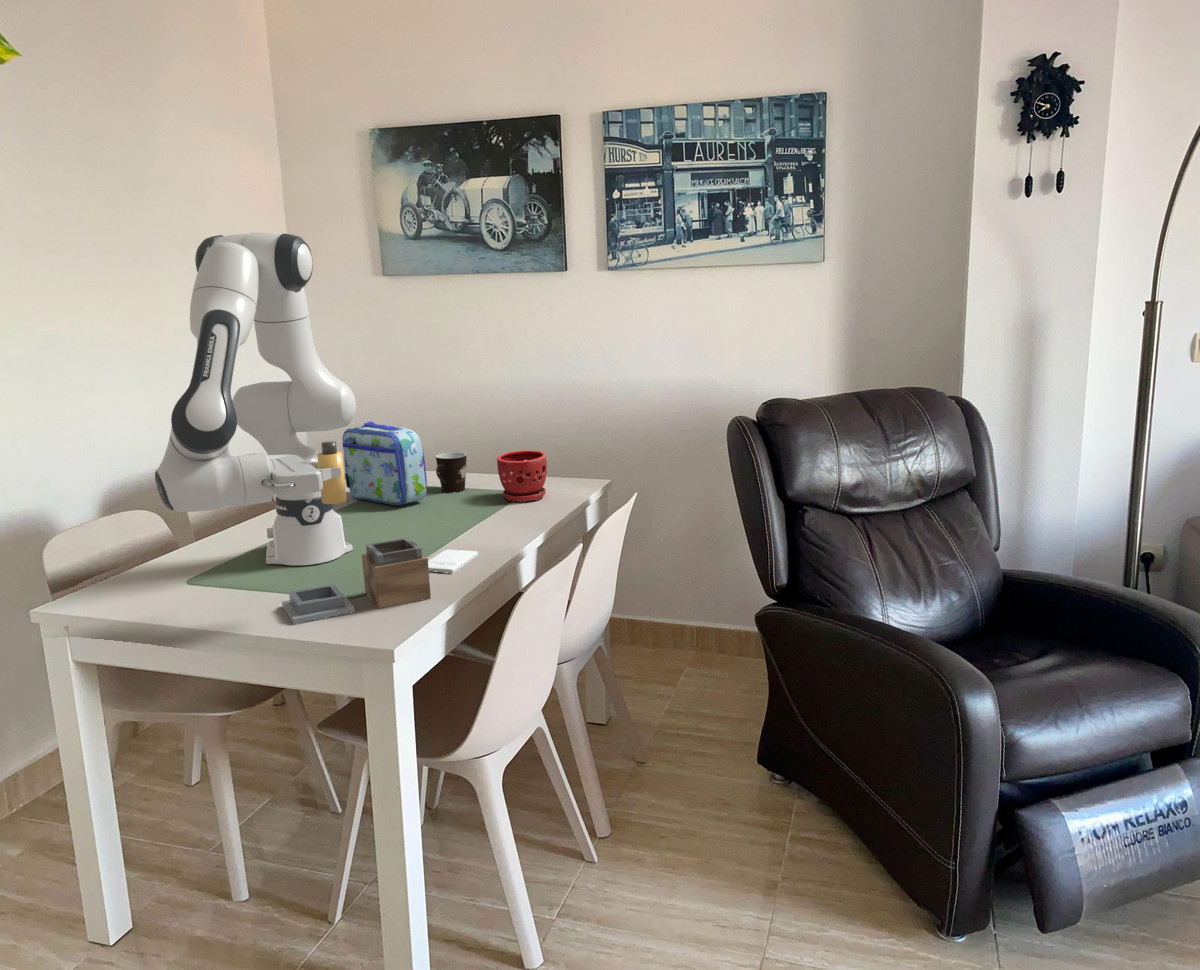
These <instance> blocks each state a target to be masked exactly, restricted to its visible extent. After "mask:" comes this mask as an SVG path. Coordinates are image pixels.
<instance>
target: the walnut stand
mask: <svg viewBox="0 0 1200 970" xmlns="http://www.w3.org/2000/svg"><path fill="white" fill-rule="evenodd" d="M365 549H366V553H362V554H361V560H362V561H361V562H362V572H363V583H364V593H365V592H366V593H367V595H368V596H369V597H370V598H371V599H372V600H373V601H374V602H375V603H374V602H373V601H372V600H371V599H370V598H369V597H368V596H367V595H366V596H367V597H368V598H369V599H370V600H371V601H372V602H373V603H374V604H375V606H376V607H377V608H378V607H379V608H380V609H383V608H382V607H385V608H389V607H388V606H390V607H394V606H393V605H395V606H399V604H400V605H404V604H403V603H405V604H410V603H414V602H413V601H415V602H419V601H418V600H420V601H423V600H422V599H425V600H428V599H427V598H430V599H432V598H431V596H432V595H431V585H430V583H431V582H430V572H429V569H428V561H429V560H428V559H429V558H428V557H426V556H425V555H424V554H423V549H422V547H421V546H419V545H418V544H417V543H416V542H414V541H413V540H412V539H411V538H409V537H405V538H398V539H393V540H386V541H380V542H375V543H369V544H365ZM409 602H410V603H409ZM379 608H378V609H379Z"/></svg>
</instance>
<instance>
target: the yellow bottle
mask: <svg viewBox="0 0 1200 970" xmlns="http://www.w3.org/2000/svg"><path fill="white" fill-rule="evenodd" d="M317 457H318V467H319V469H326V468H329V467H335V466H337V467H339V468H340V469H341V476H340V477H337V478H331V479H328V480H326V481H322V482H323V490H321V498H322V503H324V504H333V505H336V504H342V503H345V502H347V491H346V478H345V466H344V459H343V458H344V455H343V452H342V451H339V450H338V449H337V441H334V440H333V441H332V440H331V441H324V442H321V452H320V453H318V454H317Z"/></svg>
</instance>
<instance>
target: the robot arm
mask: <svg viewBox="0 0 1200 970" xmlns="http://www.w3.org/2000/svg"><path fill="white" fill-rule="evenodd" d="M194 257H195V260H194V261H195V268H196V269H195V270H196V273H197V274H196V276H195V280H194V285H193V289H192V292H191V299H190V307H189V327H190V329H189V330H190V331H191V333H192V335H193V336H194V337H195V338H196V343H197V344H196V352H195V357H194V364H193V367H192V368H193V369H192V372H191V373H192V375H191V379H190V381H189V382H190V383H189V386H188V387H187V389H186V390H185V391H184V392H183V394H182V395H181V397H180V398H179V399H178V401H176V403H175V405H174V407H173V409H172V413H171V419H170V420H171V421H170V422H171V428H170V434H169V439H168V443H167V446H166V450H165V452H164V455H163V457H162V460H161V463H159V466H158V468H157V469H156V470H155V472H154V481H155V484H156V489H157V491H158V494H159V496H160V499H161V501H162V502H163V504H164V505H165V507H167V509H169V510H171V511H172V512H177V513H178V512H179V513H194V512H195V513H196V512H206V511H213V510H220V509H221V508H224V507H227V506H240V507H243V506H251V505H257V504H264V503H265V504H266V503H271V502H272V500H273V495H276V497H275V511H276V517H275V519H274V522H273V525H272V527H268V528H266V535H267V539H273V540H272V541H271V540H270V541H268V542H267V544H266V554H265V564H267V565H283V566H284V565H286V566H310V565H311V566H312V565H316V564H323V563H327V562H330V561H331V562H332V561H333V560H336V559H339V558H340V557H342V556H343V555H345V553H348V552H351V551H353V550H354V549H353V548H354V547H353V545H352V544H351V543H349V542H346V541H345V539H346V538H345V534H344V526H343V521H342V516H341V514H339V513H338V512H336V511H335V510H334V509H333V508H334V504H324V503H322V498H321V490H323V482H322V481H326V480H328V479H331V478H337V477H340V476H341V469H340V468H339V467H337V466H335V467H329V468H326V469H319V467H318V457H317V454H318V453H321V452H319V450H317V449H315V448H312V447H310V446H308V445H305V444H304V443H302V441H301V440H300V439H299V438H298V436H297V433H306V432H307V433H308V432H309V433H310V432H313V433H314V432H328V431H332V430H338V429H342V428H344V427H347V426H349V425H350V424H351V422H352V421H353V419H354V417H355V415H356V411H357V399H356V396H355V394H354V392H353V390H352V389H351V388H350V386H349V385H348V384H347V383H346V382H344V381H343V380H341V379H339V378H338V377H336V376H335V375H334V374H332V373H331V372H330V370H328V367H326V366H325V364H324V363H323V361H322V360H321V358H320V357H319V355H318V352H317V348H316V345H315V341H314V337H313V331H312V325H311V317H310V310H309V305H308V300H307V296H306V295H307V294H306V291H305V288H304V287H306V285H307V284H308V283H309V281H310V279H311V278H312V276H313V275H312V274H313V268H314V262H313V261H314V260H313V255H312V251H311V248H310V246H309V245H308V243H307V242H306V241H305V240H304V239H303V237H300V236H297V235H294V234H289V233H282V234H278V233H271V232H270V233H268V232H267V233H266V232H249V233H240V234H239V233H238V234H237V233H236V234H231V235H223V234H218V235H212V236H209V237H207V238H205V239H203V240H202V241H201V242H200V244H199V246H197V249H196V252H195V256H194ZM253 325H254V331H255V337H256V343H257V350H258V353H259V354H260V356H261V357H262V359H263V360H264V361H265V362H266V363H268V364H269V365H271V366H274V367H276V368H279V369H281V370H282V371H283V372H285V373H286V374H287V375H288V376H289V378H290V380H289V381H287V380H285V381H284V380H283V381H261V382H258V383H257V382H256V383H252V384H248V385H245V386H244V385H243V386H241V387H239V388H238V389H237V391H236V392H235V394H234V395H233V398H232V394H231V393H232V392H231V391H232V381H233V376H234V368H235V362H236V358H237V357H236V355H237V353H238V349H239V348H240V347H241V346H242V345H244V344H245V343H246V342H247V339H248V337H249V335H250V333H251V330H252V328H253ZM237 426H238V427H239V428H240V429H241V430H242V431H244V432H245V433H247V434H249V435H250V436H251V437H252V438H254V439H255V440H256V441H257V442H258V443H259V444H260V445H261V447H262V448H263V450H264V451H265V452H266V453H264V452H261V453H260V452H259V453H255V452H254V453H248V454H241V455H232V454H230V451H229V444H230V442H231V440H232V438H233V437H234V436H235V433H236V431H237ZM266 454H267V455H266Z"/></svg>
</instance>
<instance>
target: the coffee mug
mask: <svg viewBox="0 0 1200 970" xmlns="http://www.w3.org/2000/svg"><path fill="white" fill-rule="evenodd" d="M467 456H468V454H467V453H466V452H460V451H459V452H458V451H457V452H456V451H455V452H454V451H452V452H443V453H438V454H436V455H435V461H436V466H437V467H436V469H435V471H436V472H435V473H436V476H437V478H438V480H439V481H440V487H441V491H443V492H442V493H445V494H446V493H447V494H448V493H449V494H451V493H452V494H454V493H453V492H456V493H461V492H464V491H465V490H466V477H467V476H466V474H467V473H466V472H467ZM463 490H464V491H463ZM460 491H461V492H460Z"/></svg>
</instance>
